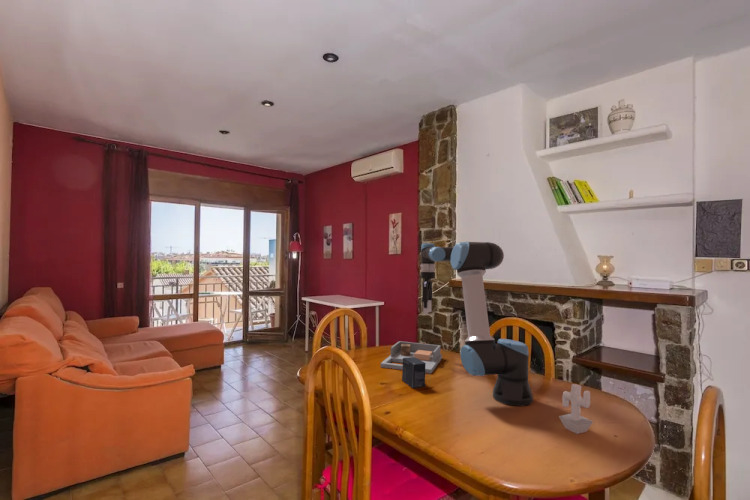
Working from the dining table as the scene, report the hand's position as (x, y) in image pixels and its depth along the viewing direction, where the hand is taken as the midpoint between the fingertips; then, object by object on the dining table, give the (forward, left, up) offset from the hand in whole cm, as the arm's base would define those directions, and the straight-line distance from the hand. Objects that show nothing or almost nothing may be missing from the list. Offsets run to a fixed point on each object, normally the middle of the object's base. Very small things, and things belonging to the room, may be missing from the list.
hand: (427, 312), depth 205 cm
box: (-4, +42, -25) cm, 49 cm away
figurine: (-65, +63, -25) cm, 94 cm away
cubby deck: (+5, +12, -25) cm, 28 cm away
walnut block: (+11, +5, -23) cm, 26 cm away
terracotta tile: (0, +8, -23) cm, 24 cm away
